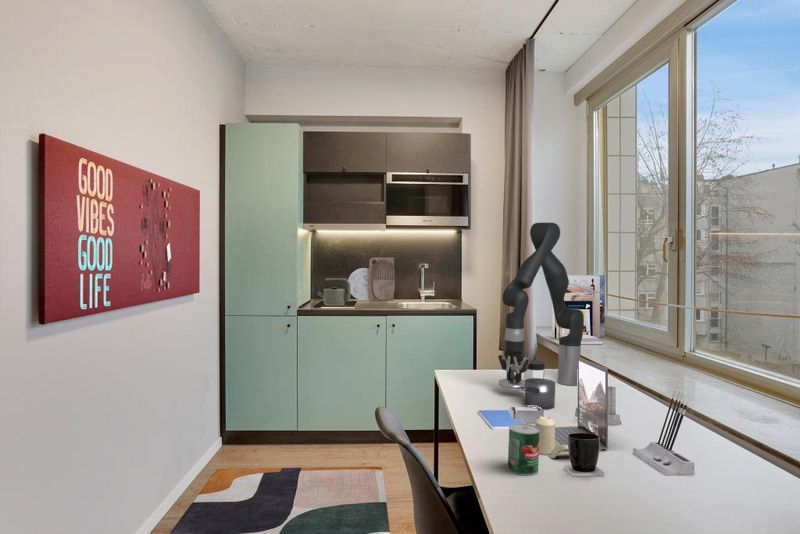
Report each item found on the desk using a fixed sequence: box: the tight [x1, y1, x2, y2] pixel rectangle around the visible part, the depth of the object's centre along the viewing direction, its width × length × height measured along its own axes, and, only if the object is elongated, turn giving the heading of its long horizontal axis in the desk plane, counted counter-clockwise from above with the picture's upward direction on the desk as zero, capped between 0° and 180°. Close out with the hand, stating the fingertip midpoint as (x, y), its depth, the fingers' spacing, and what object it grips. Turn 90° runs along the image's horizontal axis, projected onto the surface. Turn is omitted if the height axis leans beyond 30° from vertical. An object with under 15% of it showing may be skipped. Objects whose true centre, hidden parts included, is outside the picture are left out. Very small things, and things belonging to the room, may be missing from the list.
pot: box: [524, 378, 556, 411], centre depth 202 cm, size 15×11×9 cm
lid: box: [498, 368, 525, 390], centre depth 216 cm, size 12×12×6 cm
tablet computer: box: [477, 409, 526, 430], centre depth 184 cm, size 19×13×1 cm, turn 6°
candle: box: [534, 416, 556, 456], centre depth 155 cm, size 6×6×10 cm
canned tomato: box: [507, 423, 540, 477], centre depth 142 cm, size 8×8×11 cm
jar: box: [522, 360, 546, 392], centre depth 224 cm, size 9×8×12 cm
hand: (513, 381), depth 216 cm, fingers closed on lid, 3 cm apart
